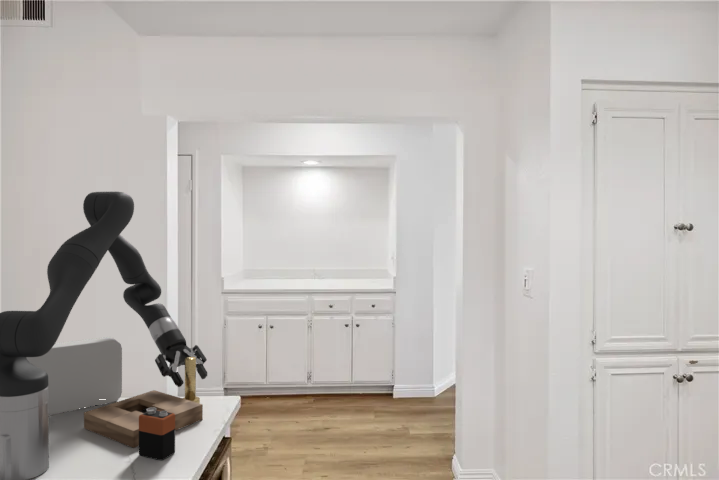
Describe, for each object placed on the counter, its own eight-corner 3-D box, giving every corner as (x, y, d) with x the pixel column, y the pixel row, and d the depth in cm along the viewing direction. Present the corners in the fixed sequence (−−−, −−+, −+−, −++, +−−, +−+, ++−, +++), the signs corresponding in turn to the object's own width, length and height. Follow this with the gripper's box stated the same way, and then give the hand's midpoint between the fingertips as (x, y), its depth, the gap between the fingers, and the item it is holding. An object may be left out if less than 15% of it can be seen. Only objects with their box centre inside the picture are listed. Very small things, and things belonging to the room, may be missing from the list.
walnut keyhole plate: (133, 448, 113) (133, 430, 113) (84, 428, 124) (84, 412, 124) (202, 419, 131) (202, 404, 130) (153, 404, 141) (153, 390, 141)
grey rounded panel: (115, 393, 149) (115, 334, 148) (122, 401, 143) (122, 339, 143) (-3, 416, 131) (-3, 348, 130) (0, 425, 125) (-1, 354, 124)
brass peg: (188, 408, 138) (189, 361, 138) (176, 404, 141) (176, 359, 141) (203, 402, 143) (203, 357, 142) (191, 398, 146) (191, 355, 145)
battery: (152, 447, 114) (152, 404, 114) (176, 452, 112) (176, 408, 111) (137, 455, 110) (137, 411, 110) (162, 461, 107) (162, 415, 107)
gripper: (151, 332, 139) (178, 380, 133) (192, 324, 151) (219, 367, 146) (139, 348, 142) (166, 396, 136) (181, 339, 154) (206, 382, 149)
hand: (193, 381), depth 141 cm, fingers open, 8 cm apart
